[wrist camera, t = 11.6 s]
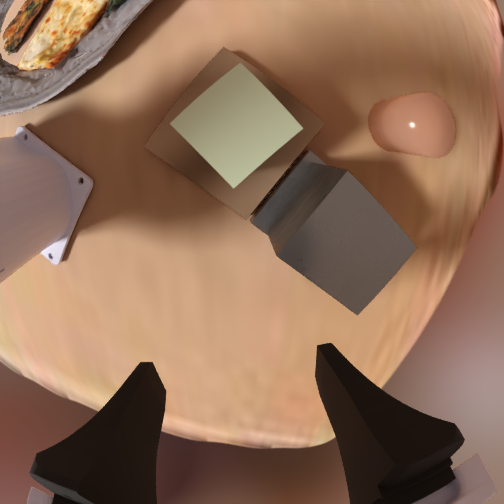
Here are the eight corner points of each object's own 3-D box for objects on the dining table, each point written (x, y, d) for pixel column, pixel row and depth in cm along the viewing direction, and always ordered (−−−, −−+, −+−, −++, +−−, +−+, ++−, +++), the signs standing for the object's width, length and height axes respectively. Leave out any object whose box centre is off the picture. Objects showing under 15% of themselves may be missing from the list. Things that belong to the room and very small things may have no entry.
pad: (148, 146, 16) (143, 147, 15) (223, 52, 14) (223, 47, 13) (245, 216, 18) (246, 219, 17) (320, 124, 16) (325, 123, 15)
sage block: (188, 130, 15) (169, 123, 10) (237, 86, 14) (240, 62, 9) (233, 176, 16) (233, 188, 11) (282, 133, 15) (303, 128, 11)
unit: (250, 219, 18) (259, 256, 12) (306, 149, 17) (345, 153, 11) (324, 276, 20) (357, 326, 14) (376, 216, 19) (427, 246, 13)
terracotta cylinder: (358, 124, 16) (397, 120, 12) (387, 89, 15) (428, 79, 11) (393, 163, 17) (436, 171, 13) (419, 128, 16) (463, 129, 12)
